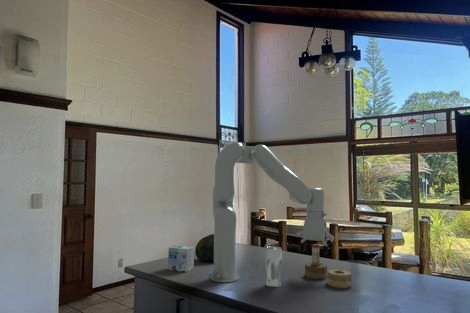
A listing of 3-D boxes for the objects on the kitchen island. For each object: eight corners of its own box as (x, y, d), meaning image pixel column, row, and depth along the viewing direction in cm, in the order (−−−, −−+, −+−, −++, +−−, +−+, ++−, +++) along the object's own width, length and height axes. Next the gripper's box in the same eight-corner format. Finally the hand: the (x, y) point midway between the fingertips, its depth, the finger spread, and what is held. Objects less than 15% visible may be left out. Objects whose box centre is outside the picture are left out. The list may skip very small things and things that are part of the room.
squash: (191, 247, 189) (197, 229, 181) (216, 246, 195) (223, 229, 187) (196, 269, 178) (203, 251, 170) (222, 268, 184) (230, 250, 176)
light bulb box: (167, 270, 162) (167, 247, 163) (175, 266, 168) (175, 244, 169) (187, 272, 158) (187, 248, 159) (194, 269, 164) (194, 246, 165)
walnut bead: (323, 280, 147) (323, 268, 147) (303, 277, 152) (302, 265, 152) (328, 275, 155) (328, 264, 155) (309, 272, 159) (309, 261, 160)
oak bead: (352, 288, 136) (352, 275, 136) (329, 287, 137) (329, 274, 138) (348, 281, 145) (348, 269, 145) (326, 280, 146) (326, 268, 147)
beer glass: (271, 288, 135) (271, 250, 136) (261, 283, 141) (262, 247, 142) (285, 286, 138) (285, 248, 139) (275, 281, 144) (275, 245, 146)
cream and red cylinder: (318, 277, 151) (318, 245, 152) (311, 276, 153) (311, 244, 154) (320, 275, 154) (320, 244, 155) (313, 274, 155) (313, 243, 156)
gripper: (336, 216, 154) (335, 254, 153) (299, 213, 163) (299, 249, 161) (332, 217, 148) (331, 257, 146) (294, 214, 156) (293, 251, 155)
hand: (314, 253), depth 154 cm, fingers open, 9 cm apart
